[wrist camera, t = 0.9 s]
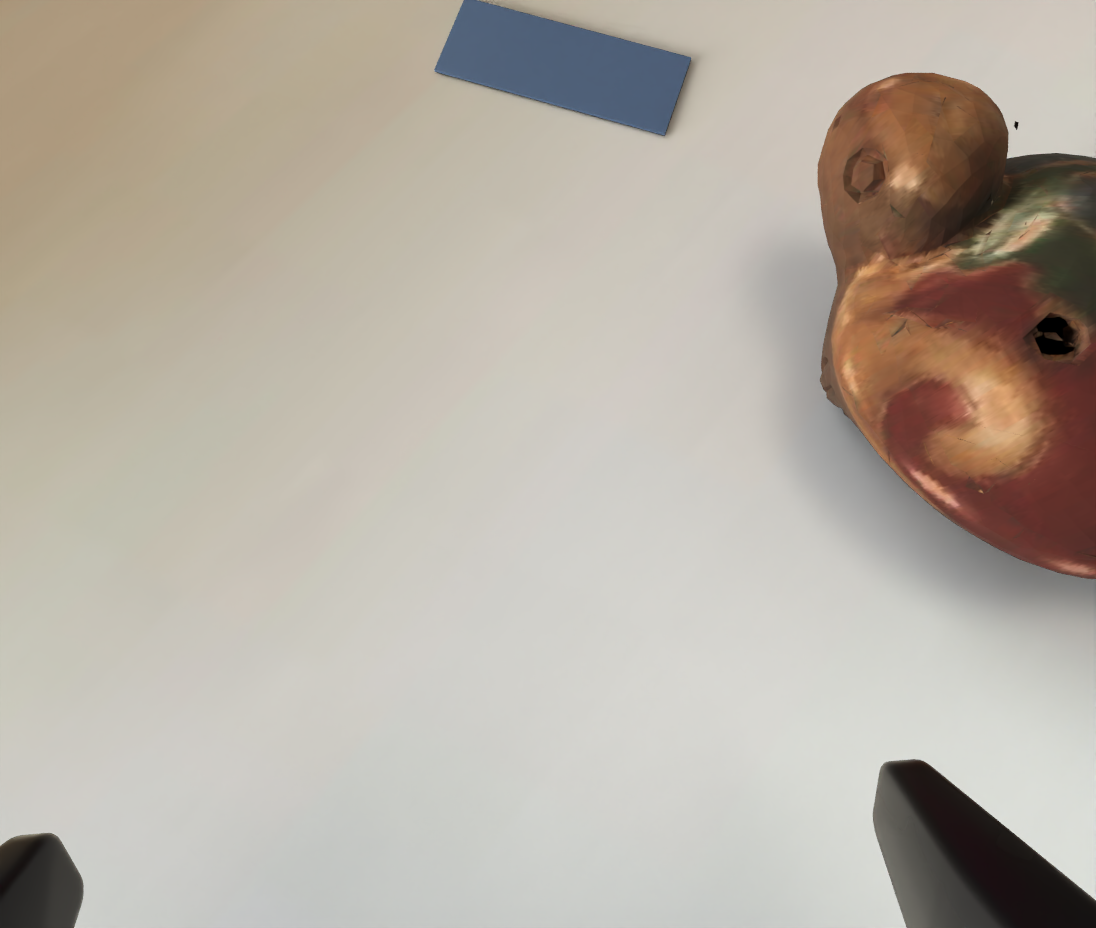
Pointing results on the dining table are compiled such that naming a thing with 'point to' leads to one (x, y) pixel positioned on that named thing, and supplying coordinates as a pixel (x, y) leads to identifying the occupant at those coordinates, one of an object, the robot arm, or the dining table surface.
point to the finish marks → (564, 65)
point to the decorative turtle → (966, 313)
